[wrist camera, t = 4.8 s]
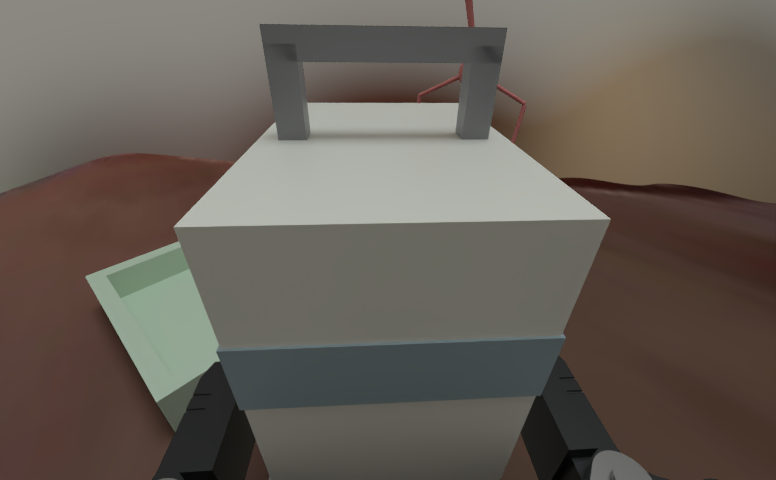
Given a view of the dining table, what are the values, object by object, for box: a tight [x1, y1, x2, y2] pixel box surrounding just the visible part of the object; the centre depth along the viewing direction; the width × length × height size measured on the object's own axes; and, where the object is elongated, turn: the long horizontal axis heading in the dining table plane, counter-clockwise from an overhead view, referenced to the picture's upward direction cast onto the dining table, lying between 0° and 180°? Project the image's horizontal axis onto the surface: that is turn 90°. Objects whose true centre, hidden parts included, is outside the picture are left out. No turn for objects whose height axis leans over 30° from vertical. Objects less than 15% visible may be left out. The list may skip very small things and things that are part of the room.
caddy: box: [174, 24, 611, 480], centre depth 11 cm, size 8×6×18 cm
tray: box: [85, 242, 220, 432], centre depth 25 cm, size 14×14×3 cm
